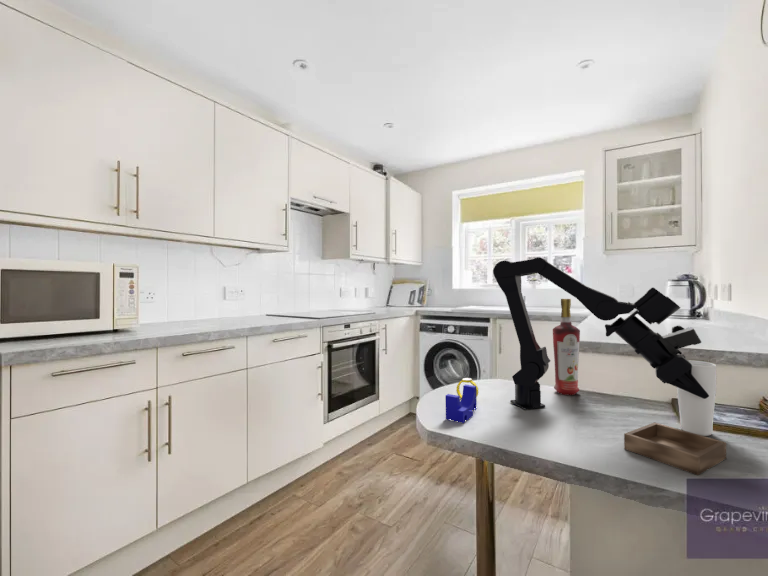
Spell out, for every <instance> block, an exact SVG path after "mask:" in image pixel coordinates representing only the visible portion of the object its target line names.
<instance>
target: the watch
mask: <svg viewBox="0 0 768 576" xmlns="http://www.w3.org/2000/svg"><path fill="white" fill-rule="evenodd" d="M462 383H470V385H472V386H476V398H477V397H478V395H479V387H478V385H477V383H476V382H474V380H473V379H472V378H471V377H464V378H462V379H461V380H460V381H459V382H458V384H457V385H456V393H457V396H460V399H461V398H462V393H461V391H460V385H461V384H462Z"/></svg>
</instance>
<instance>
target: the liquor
mask: <svg viewBox="0 0 768 576" xmlns="http://www.w3.org/2000/svg"><path fill="white" fill-rule="evenodd" d="M571 306H572V299H571V298H560V307H561V314H560V324H559V325H557V326H554V327H553V328H552V343H553V344H552V345H553V346H552V347H553V357H554V358H553V359H554V377H555V378H554V382H555V385H554V386H553V388H554V390H555V391H556V392H557V393H558V394H560V395H564V396H574V395H576V394H577V393H579V392H580V388H579V360H580V359H579V358H580V344H581V343H580V340H581V330H580V328H578V327H577V326H575V325H573V323H572V316H571Z"/></svg>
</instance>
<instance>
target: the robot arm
mask: <svg viewBox="0 0 768 576" xmlns="http://www.w3.org/2000/svg"><path fill="white" fill-rule="evenodd" d="M492 273H493V277H494V278H495V280H496V283H497V284H498V286H499V289H501V291H502V292H503V294H504V296H505V298H506V302H507V305H508V309H509V312H510V315H511V316H510V317H511V320H512V323H513V326H514V329H515V333H516V336H517V340H518V343H519V361H520V369H519V370H517V372H516V373H514V374H513V375H512V378H511V379H512V380H513V383H514V395H515V396H514V398H515V399H511V400H510V403H511V404H513V405H516V406H517V407H519V408H520V409H521V408H522V409H524V410H529V409H531V410H532V409H539V408H546V404H544V403H542V402H541V401H542V398H541V397H542V395H541V394H542V393H541V392H542V391H541V384H540V383H539V380H540V379H541V378H543V376H545V374H546V373H547V371H548V370H549V365H550V362H551V359H550V358H549V356H548V351H547V350H548V349H547V346H542V347H541V346H540V345H539V343H538V342H537V339H536V336H535V334H534V333H535V331H534V329H533V326H532V323H531V320H530V317H529V312H528V309H527V306H526V303H525V300H524V297H523V296H524V295H523V293H522V277H524V276H525V277H526V276H530V275H535V274H539V276H541V277H543V278H544V279H546V280H547V281H549V282H550V283H552V284H554V285H555V286H557V287H559V288H560V289H562V290H564V291H565V292H566V293H568V294H570V296H572V297H574V298H575V299H577V300H578V301H579V303H581V304H582V305H583V306H584V307H585V308H586V309H587V310H588V311H589V312H590V313H592V315H593V316H595V317H596V318H597V319H599V320H601V321H612V320H615V319H616V318H617V317H618V316H619V315H627V314H630V313H631V312H632V311H633V310H634V311H633V312H632V313H631V314H630V315H629V316H627V317H626V318H623V317H619V318H617V319H616V320H615V321H614V322H612V323H611V324H607V323H605V325H604V328H605V337H608V338H609V337H610V336H611V335H612V334H614V333H615V334H616V335H618V336H619V337H620V338H621V339H622V340H623V341H624V342H625V343H626V344H628V345H629V346H630V347H631V348H632V349H633V351H634V352H635V353H636V354H637V355H640V356H641V358H643V359H644V360H645V361H646V362H648V363H649V365H650V366H651V368H653V370H654V369H655V370H654V372H655V375H656V377H657V378H658V379H659V380H660V381H661V382H662V383H663V384H664V385H665V384H667V385H671V386H673V387H676V388H677V387H678V388H680V389H683V390H685V391H687V392H690V393H692V394H694V395H697V396H699V397H701V398H704V399H706V398H707V397H709V395H708V393H707V392H706V391H705V390H704V389H703V387H702V386H701V385H700V384H699V383H698V381H697V380H696V379H695V378H694V377H693V375H692V365H691V363H690V362H689V361H688V360H689V359H687V358H686V356H685V354H683V352H682V351H681V350H680V349H683V348H687V347H689V346H696V345H698V344H699V345H700V344H701V343H702V340H701V339H700V337H699V335H698V334H697V332H696V330H695V329H694V328H693V327H691V326H690V327H689V326H688V327H686V328H685V327H683V326H682V325H680V324H678V325H675V326H672V327H671V332H670V333H668V334H665V335H661V334H660V333H659V332H655V331H654V330H653V329H651V328H650V327H649V326H648V325H646V324H645V323H644V322H643V321H642V320H641V319H639V318H638V317H637V316H636V315H639V316H640V318H642V319H643V320H644V321H646V323H648V324H649V325H650V326H651V325H652V324H655V323H656V324H657V325H660V324H661V323H663V322H664V321H666V320H667V319H668V318H670V316H672V315H673V314H675V313H676V312H677V311H679V310H680V309H681V306H680V305H679V304H677V303H676V302H675V301H674V300H673V299H671V298H670V297H668V296H666V295H665V294H663V293H662V292H660V291H659V290H658V289H656V288H655V287H650V288H649V290H647V291H646V293H644V295H642V296H641V297H640V298H638V299H637V300H636V301H635V302H633V303H631V302H629V301H628V302H625V301H619V300H618V299H617V298H615V296H614V297H613V296H611V295H609V294H606V293H604V292H601V291H599V290H597V289H594V288H591V287H589V286H587V285H585V284H584V283H582V282H581V281H579V280H577V279H576V278H574V277H573V276H571V275H569V274H568V273H567V272H564V271H563V270H562V269H560V268H558V267H557V266H554V265H553V264H552V263H550V262H549V261H548V260H547V259H545V258H542V257H534V258H532V259H526V260H525V259H524V260H519V261H510V260H501V261H499V262H497V263H496V264H495V266H494V268H493V270H492Z"/></svg>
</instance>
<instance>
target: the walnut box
mask: <svg viewBox="0 0 768 576" xmlns="http://www.w3.org/2000/svg"><path fill="white" fill-rule="evenodd" d="M623 437H624V438H623V442H624V443H623V447H624V448H623V449H624V450H626V451H629V452H630V453H631V452H632V453H635V454H637V455H640V456H643V457H646V458H648V459H651V460H654V461H657V462H659V463H662V464H666V465H669V466H670V467H673V468H676V469H679V470H682V471H684V472H688V473H690V474H694V475H696V476H699V475H701V474H703V473H705V472H706V471H708V470H710V469H711V468H713V467H715V466H716V465H718V464H720V463H722V462H723V460H724V459H725V460H727V442H725V441H723V440H718V439H715V438H713V437H712V438H711V437H709V436H701V435H698V434H694V433H691V432H687V431H684V430H682V429H681V428H680V429H679V428H676V427H672V426H670V425H665V424H662V423H658V422H651V423H649V424H647V425H644V426H641V427H638V428H636V429H633V430H631V431H627V432H625V433H624V434H623ZM725 460H724V461H725ZM721 461H722V462H721Z"/></svg>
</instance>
